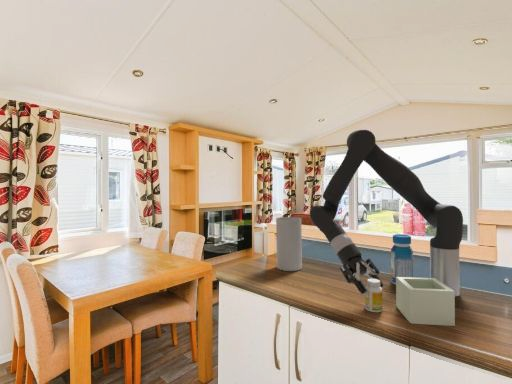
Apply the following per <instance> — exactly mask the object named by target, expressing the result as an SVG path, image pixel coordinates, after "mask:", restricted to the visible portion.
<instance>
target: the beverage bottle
mask: <svg viewBox="0 0 512 384" xmlns="http://www.w3.org/2000/svg"><path fill="white" fill-rule="evenodd" d="M392 243H393V244H394V245H393V246H392V247H391V249H390V253H391V255H390V262H391V264H390V265H391V267H390V268H391V269H390V270H391V271H390V272H391V274H390V275H391V277H390V282H391V283H392V284H394V285H395V286H396V277H414V256H413V254H414V250H413V249H412V246H411V244H412V235H409V234H402V233H401V234H399V233H397V234H395V233H394V234H393V235H392Z"/></svg>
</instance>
